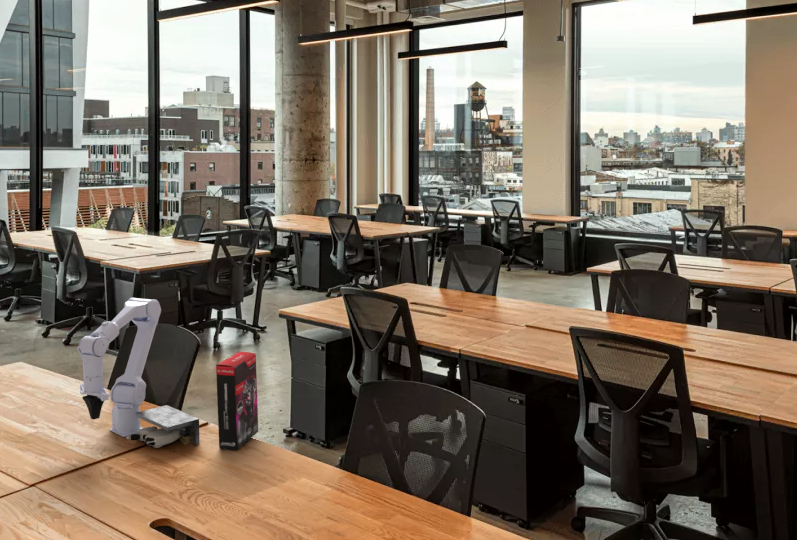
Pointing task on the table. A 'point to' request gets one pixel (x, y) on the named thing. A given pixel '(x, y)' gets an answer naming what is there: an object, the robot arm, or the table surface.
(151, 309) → the robot arm
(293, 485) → the table surface
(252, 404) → the graphics card box
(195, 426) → the overhang shelf
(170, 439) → the robot toy
